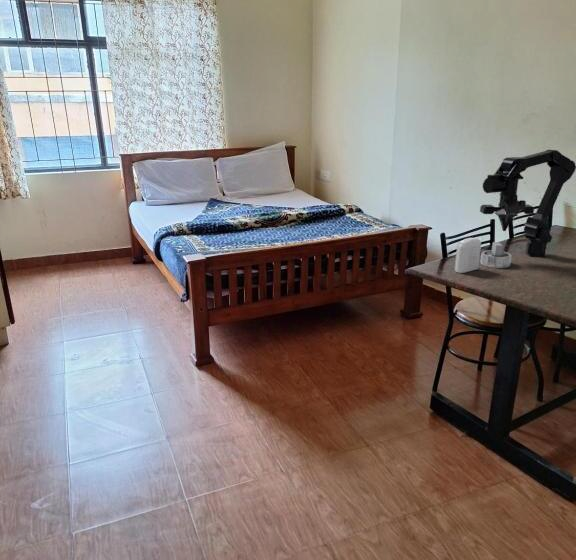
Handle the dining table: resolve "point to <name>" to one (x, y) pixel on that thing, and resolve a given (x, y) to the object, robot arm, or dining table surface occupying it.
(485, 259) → the faceted white dish
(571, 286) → the dining table surface
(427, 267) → the dining table surface
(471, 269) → the photo printer
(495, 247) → the grey knob
